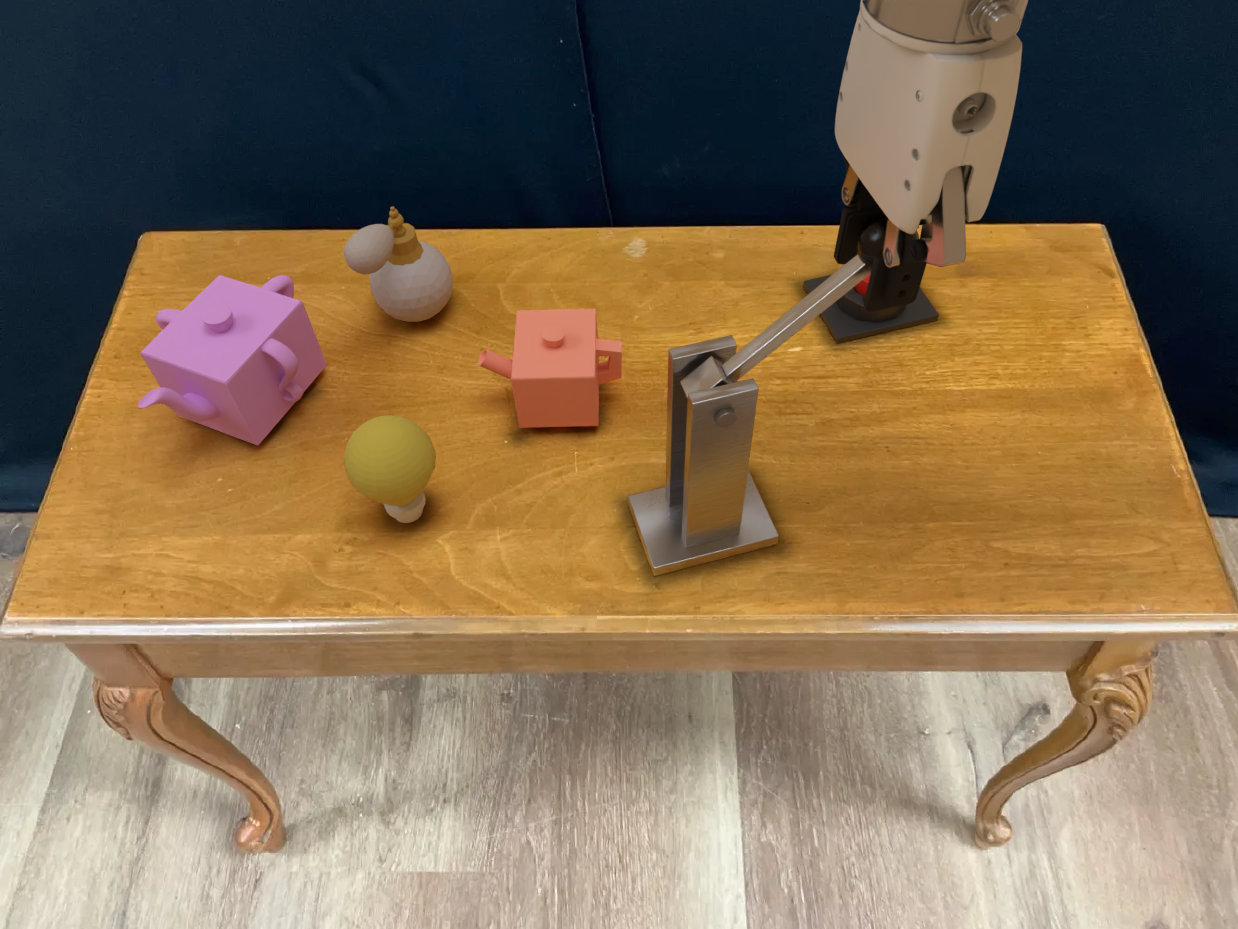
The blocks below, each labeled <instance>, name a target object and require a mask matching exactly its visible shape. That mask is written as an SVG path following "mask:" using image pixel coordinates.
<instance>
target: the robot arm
mask: <svg viewBox="0 0 1238 929" xmlns="http://www.w3.org/2000/svg"><path fill="white" fill-rule="evenodd" d="M1028 2H1029V0H860V3H859V12H858V15H857V17H856V21H855V24H854V28H853V33H852V35H851V39H850V44H849V48H848V51H847V55H846V60H845V64H844V68H843V72H842V77H841V82H840V87H839V91H838V92H839V94H838V98H837V103H836V112H835V119H834V120H835V122H834V136H835V140H836V143H837V145H838V148H839V150H840V151H841V153H842V160H843V161H842V162H844V167H845V171H846V174H845V177H844V181H843V184H842V187H841V192H840V193H841V194H840V195H841V199H842V202H843V204H844V205H845V206H848V207H843V208H842V212H841V217H840V222H839V226H838V232H837V236H836V242H835V247H834V252H833V259H834V260H835V262H836V263H837V264H838V265H843V266H844V265H845V264H846V263H847V262H848V261H850V260H851V259H852V258H853V257H855V256H856V255H857V254H858V253H857V240H858V236H859V233H860V231H861V230H862V228H863V227H864V225H865V224H866V223H867V222H868V221H870V220H871V219H872V218H874V217H876V216H878V215H881V214H885V215H886V216H887V217H888V221H887V228H886V235H885V242H884V249H883V254H879V255H877V256H875V258H874V262H873V266H872V270H871V274H870V278H869V283H868V287H867V291H866V295H865V299H864V306H865V308H866V309H867V311H868V312H874V311H879V310H884V309H888V308H893V307H897V306H902V305H906V304H910V303H912V302H914V301H915V299H916V297H917V294H918V291H919V287H920V288H921V284H922V281H923V278H924V274H925V270H926V267H927V265H931V266H934V267H938V268H945V267H949V266H953V265H958V264H963V263H964V262H965V261H966V259H967V240H966V239H967V237H966V236H967V235H966V222H967V223H971V222H977V221H980V220H981V219H982V218H983V216H984V214H985V213H986V210H987V208H988V206H989V204H990V201H991V197H992V194H993V191H994V189H995V185H996V181H997V178H998V176H999V175H998V174H999V171H1000V167H1001V164H1002V160H1003V157H1004V153H1005V149H1006V145H1007V141H1008V137H1009V132H1010V129H1011V125H1012V120H1013V116H1014V110H1015V106H1016V100H1017V94H1018V89H1019V82H1020V75H1021V74H1020V73H1021V67H1022V66H1021V65H1022V54H1023V42H1022V40H1021V39H1020V38H1019V36H1018V35H1017V33H1018V32H1019V30H1020V28H1021V25H1022V22H1023V18H1024V15H1025V12H1026V9H1027V6H1028ZM920 226H921V229H920ZM918 229H920V235H919V239H916V240H912V241H908V242H904V240H905V234H906V233H908V234H914V233H915V232H916V230H917V231H918Z"/></svg>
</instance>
